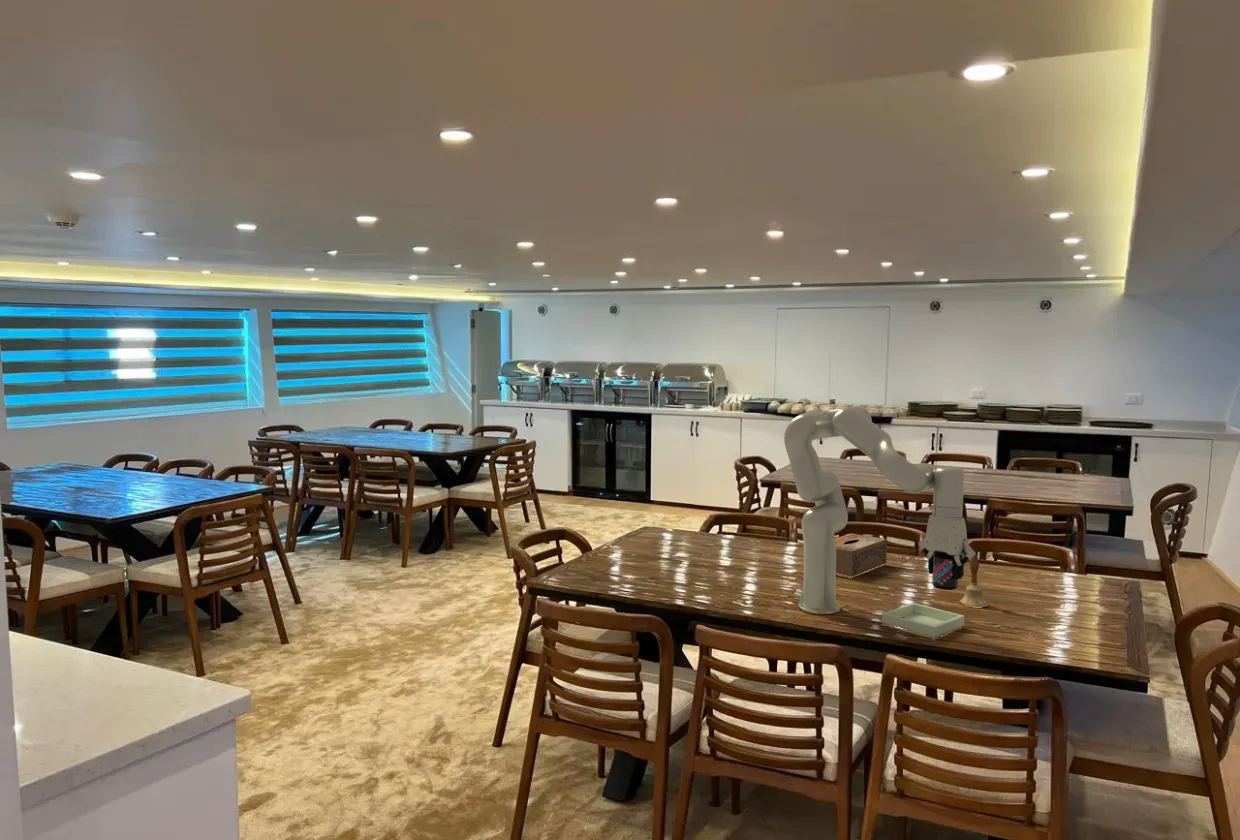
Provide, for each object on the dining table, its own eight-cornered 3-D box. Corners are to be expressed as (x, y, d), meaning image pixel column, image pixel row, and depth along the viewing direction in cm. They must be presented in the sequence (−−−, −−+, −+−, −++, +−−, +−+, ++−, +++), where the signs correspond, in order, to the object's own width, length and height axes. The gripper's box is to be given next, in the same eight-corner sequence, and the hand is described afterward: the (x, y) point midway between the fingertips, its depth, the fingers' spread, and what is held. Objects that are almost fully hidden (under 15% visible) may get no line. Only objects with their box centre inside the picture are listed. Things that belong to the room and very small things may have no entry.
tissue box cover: (851, 579, 281) (851, 551, 280) (814, 572, 291) (814, 544, 290) (886, 566, 299) (886, 539, 298) (850, 559, 309) (850, 533, 308)
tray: (882, 625, 232) (882, 613, 232) (912, 614, 242) (912, 602, 242) (934, 640, 220) (934, 627, 219) (964, 627, 230) (964, 615, 229)
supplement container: (927, 584, 227) (928, 547, 226) (949, 583, 228) (950, 546, 227) (940, 591, 220) (941, 553, 219) (963, 590, 221) (964, 552, 220)
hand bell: (971, 609, 246) (973, 558, 245) (953, 602, 254) (954, 551, 253) (994, 607, 248) (996, 556, 247) (975, 599, 256) (977, 549, 255)
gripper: (911, 508, 226) (909, 571, 228) (971, 518, 213) (969, 585, 214) (925, 505, 231) (923, 567, 233) (985, 515, 218) (982, 580, 219)
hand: (945, 575), depth 224 cm, fingers closed on supplement container, 6 cm apart
